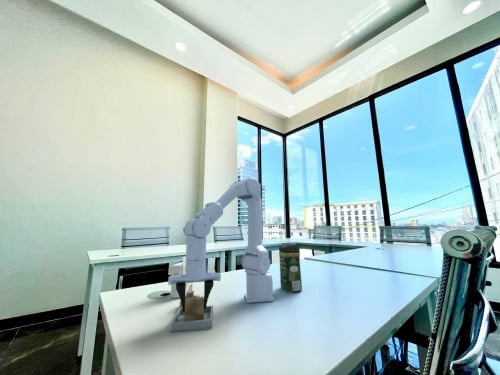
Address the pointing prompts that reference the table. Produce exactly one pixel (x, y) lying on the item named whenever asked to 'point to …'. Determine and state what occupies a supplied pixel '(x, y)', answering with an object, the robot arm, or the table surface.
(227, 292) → the table surface
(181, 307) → the wooden square frame
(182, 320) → the tray
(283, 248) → the coffee jar
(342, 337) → the table surface
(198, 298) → the walnut block
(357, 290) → the table surface
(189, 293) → the gray metal block
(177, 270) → the ink cartridge box
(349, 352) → the table surface
